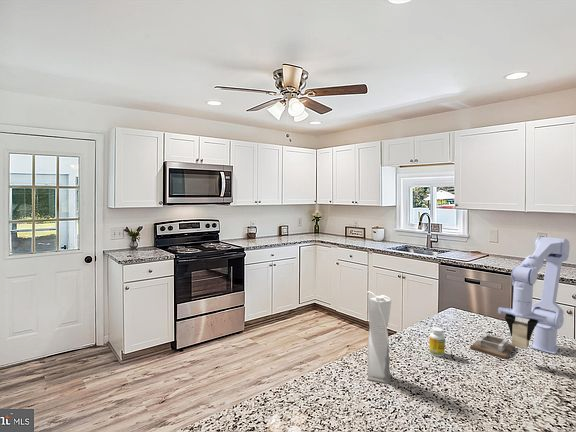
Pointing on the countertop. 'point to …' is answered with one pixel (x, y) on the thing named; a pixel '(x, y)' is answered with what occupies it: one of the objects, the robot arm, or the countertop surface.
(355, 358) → the countertop surface
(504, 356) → the socket board
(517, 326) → the birch peg
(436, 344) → the supplement bottle
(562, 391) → the countertop surface
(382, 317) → the skyscraper
